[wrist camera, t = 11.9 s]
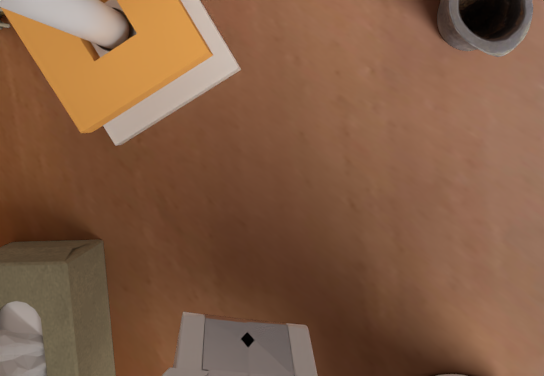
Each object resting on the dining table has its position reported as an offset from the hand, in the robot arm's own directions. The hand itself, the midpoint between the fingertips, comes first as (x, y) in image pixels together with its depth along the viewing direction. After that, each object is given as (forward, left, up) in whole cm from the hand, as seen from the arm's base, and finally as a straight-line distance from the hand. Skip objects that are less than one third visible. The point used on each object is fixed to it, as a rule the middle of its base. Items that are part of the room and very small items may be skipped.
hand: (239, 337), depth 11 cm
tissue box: (-2, +28, -36) cm, 46 cm away
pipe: (+6, -21, -36) cm, 42 cm away
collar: (+18, +5, -28) cm, 34 cm away
